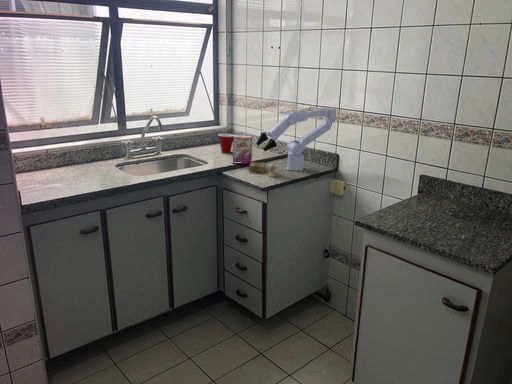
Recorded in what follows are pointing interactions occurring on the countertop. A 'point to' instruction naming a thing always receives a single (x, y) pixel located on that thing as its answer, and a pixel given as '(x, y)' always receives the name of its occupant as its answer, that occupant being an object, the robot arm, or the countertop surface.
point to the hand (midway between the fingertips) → (260, 147)
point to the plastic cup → (226, 142)
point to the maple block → (273, 170)
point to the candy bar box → (242, 149)
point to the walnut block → (257, 167)
